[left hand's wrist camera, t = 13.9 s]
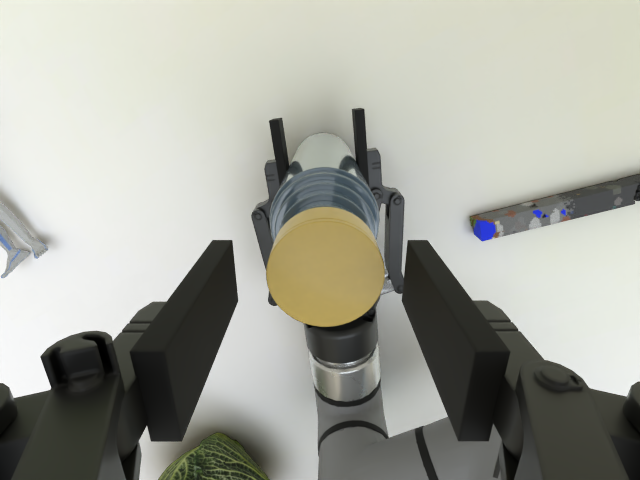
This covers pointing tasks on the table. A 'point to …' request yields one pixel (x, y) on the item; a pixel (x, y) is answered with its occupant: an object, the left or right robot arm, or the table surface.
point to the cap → (325, 267)
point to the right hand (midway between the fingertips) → (316, 114)
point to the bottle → (323, 183)
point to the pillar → (557, 208)
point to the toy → (14, 223)
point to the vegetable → (215, 462)
